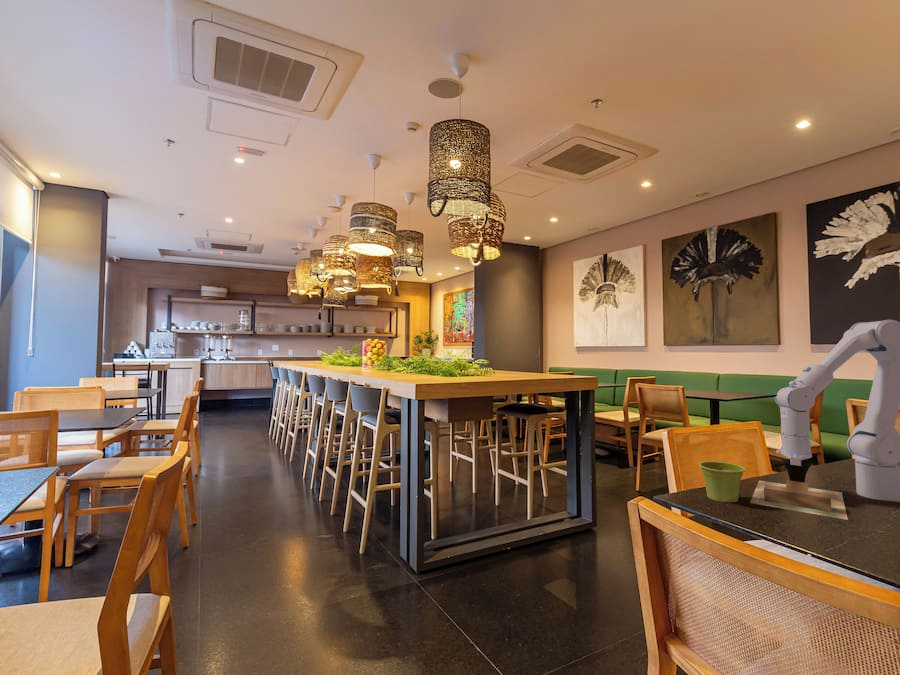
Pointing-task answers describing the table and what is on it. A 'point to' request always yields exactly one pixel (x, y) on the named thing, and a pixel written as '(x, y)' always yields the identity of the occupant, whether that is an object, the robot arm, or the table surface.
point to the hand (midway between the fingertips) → (797, 489)
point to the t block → (797, 496)
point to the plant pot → (722, 480)
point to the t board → (836, 507)
